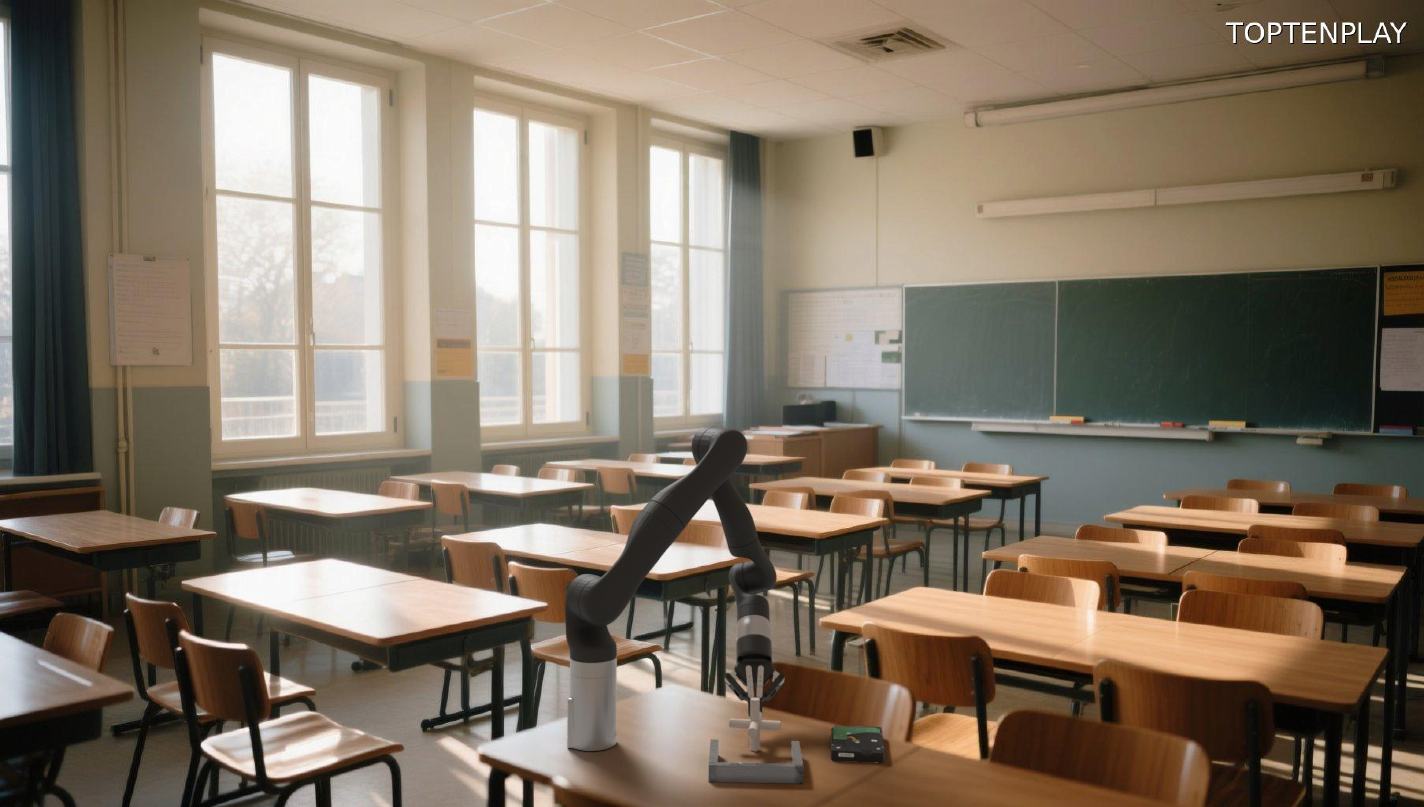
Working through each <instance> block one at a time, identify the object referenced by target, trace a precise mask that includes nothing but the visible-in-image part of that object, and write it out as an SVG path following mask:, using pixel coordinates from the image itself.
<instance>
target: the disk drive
mask: <svg viewBox="0 0 1424 807" xmlns="http://www.w3.org/2000/svg"><path fill="white" fill-rule="evenodd" d="M830 731H831V732H830V734H831V735H830V739H831V740H830V761H831V760H832V761H831V762H843V761H857V762H856V763H862V762H878V763H877V764H881V763H886V749H885V744H884V736H883V729H882V727H880V726H862V725H855V726H849V725H847V726H846V725H845V726H844V725H837V724H834V725H833V726H831V729H830Z"/></svg>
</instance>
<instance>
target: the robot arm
mask: <svg viewBox="0 0 1424 807" xmlns="http://www.w3.org/2000/svg"><path fill="white" fill-rule="evenodd" d="M690 449H691V453H692V454H691V455H692V457H693V459H694V462H695V464H696V466H695V467H693V469H692V470H691V471H690V472H688V473H687V474H685V475H683V476H682V477H681V478H679V479H677V480H675V481H674V482H673V483H671V484H669V485H667V486H666V487H664V488H662V489H661V490H660V491H659V492H657V493H656V494H655V495H654V496H652V498H651V499H650V500H649V501H648V502H647V503H646V504H645V506H644V507H643V508H642V510H640V512H639V513H638V514H637V515H636V517H635V519H634V520H633V522H632V525H631V527H630V529H629V533H628V536H627V539H626V543H625V546H624V549H623V550H622V553H621V554H620V556H619V557H618V559H617V560H616V561H615V562H614V564H613V565H612V566H611V567H610V568H609V569H608V570H607V571H606V572H605V573H604V574H603V575H602V576H599V575H595V574H590V573H584V574H580V575H578V576H577V577H575V578H574V579H573V580H572V581H571V582H570V584H569V585H568V587H567V590H566V594H565V600H564V602H565V603H564V613H565V614H564V617H565V621H564V622H565V637H566V643H567V646H568V649H569V697H568V699H567V710H566V711H567V714H566V715H567V721H566V722H567V723H566V724H567V726H566V728H567V729H566V730H567V731H566V734H567V735H566V736H567V738H566V740H567V741H566V745H567V748H568V749H575V750H577V751H584V752H595V751H602V750H603V751H604V750H608V749H610V748H613V747H614V746H616V744H617V692H618V690H617V681H618V679H617V678H618V677H617V675H618V674H617V672H618V670H617V668H618V667H617V666H618V665H617V664H618V659H617V658H618V655H617V654H618V653H617V652H618V648H617V647H618V646H617V643H616V641H615V639H614V638H613V637H612V635H611V634H610V631H609V628H608V625H610V624H612V623H614V622H615V621H616V620H617V619H618V618H619V617H620V616H621V614H622V613H623V612H624V610H625V609H626V608H627V606H628V605H629V604H630V601H631V600H632V598H633V596H634V595H635V594H636V592H637V590H638V589H639V588H640V586H641V584H642V583H643V582H644V580H645V578H646V577H647V576H648V575H649V573H650V572H651V571H652V570H653V569H654V568H655V566H656V565H657V563H658V562H659V561H660V560H661V558H662V557H663V555H665V553H666V552H667V550H668V549H669V548H670V547H671V546H672V545H673V544H674V542H675V541H676V540H677V539H678V537H679V536H680V535H681V533H682V532H684V530H685V528H687V526H688V524H689V523H690V522H691V520H692V519H693V518H694V517H695V515H696V514H697V513H698V512H699V511H700V510H701V509H702V507H703V506H704V505H705V504H706V502H707V501H708V500H710V497H711V499H712V501H713V504H714V506H715V510H716V511H717V514H718V517H719V521H720V523H721V526H722V530H723V534H724V537H725V541H726V544H727V548H728V551H729V553H730V555H731V556H732V557H735V558H739V559H747V560H750V561H744V562H738V563H734V565H732V566H731V568H730V569H729V571H728V580H729V584H730V587H731V589H732V592H733V595H734V599H735V603H736V620H737V621H736V632H735V643H736V644H735V645H736V646H735V648H736V650H735V651H736V655H735V656H736V659H735V660H736V662H735V665H734V668H733V671H731V672H726V673H725V674H724V682H725V684H726V685H727V687H728V688H729V689H730V690H731V691H732V692H733V693H734V695H735V696H736V697H737V698H738V699H739V700H740V701H742V702H743V701H745V702H746V703H747V711H748V712H747V715H748V718H750V699H751V698H759V699H760V712H761V713H762V714H763V702H764V701H765V702H769V701H770V700H772V698H773V697H774V696H775V694H776V693H777V692H778V691H779V689H781V687H782V686H783V685H784V683H785V679H786V678H785V674H784V673H783V672H782V673H779V672H778V671H777V670H776V666H774V664H773V650H772V648H773V646H772V645H773V644H772V642H773V640H772V628H771V622H770V620H771V618H770V604H769V601H768V599H767V598H765V597H764V596H763V595H760V594H756V593H761V592H767V591H771V590H773V588H774V587H775V586H776V585H777V584H776V583H777V571H776V569H775V567H774V564H773V562H772V561H771V560H770V558H769V556H768V554H767V553H766V552H765V550H764V548H763V546H762V544H761V542H760V539H759V536H758V531H757V529H756V524H755V521H754V518H753V515H752V513H751V511H750V509H749V507H748V506H747V504H746V502H745V501H744V499H743V498H742V496H741V495H740V494H739V492H738V490H737V489H736V487H735V485H734V484H733V481H732V479H731V476H732V475H733V473H735V472H736V470H738V469H739V467H740V466H741V465H742V463H744V461H745V458H746V455H747V451H748V442H747V438H746V436H745V435H744V434H743V432H741V431H739V430H737V429H734V428H730V427H722V426H715V425H714V426H711V425H708V426H703V427H701V428H699V429H698V430H697V431H696V432H695V433H694V435H693V437H692V440H691V448H690ZM754 593H755V594H754ZM771 679H772V683H770V685H769V686H768V688H766V690H765V691H763V690H764V687H765V686H767V684H768V683H769V681H770V680H771ZM738 680H739V681H740V682H741V684H742V685H744V686H745V687H746V690H745V689H744V688H743V687H742V686H741V685H740V684H739V682H738ZM754 688H756V696H755V692H754Z"/></svg>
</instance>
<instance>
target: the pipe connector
mask: <svg viewBox="0 0 1424 807" xmlns="http://www.w3.org/2000/svg"><path fill="white" fill-rule="evenodd" d="M728 728H729V729H741V730H742V729H745V730H747V736H749V738H750V739H749V740H750V741H749V744H750V746H749V747H750V751H751V750H753V751H752V752H757V751H756V750H759V751H760V746H761V744H760V743H761V742H760V739H761V737H760V735H761V733H760V731H762V730H764V731H778V732H779V731H781V729H782V720H768V719H763V712H762V713H761V712H760V699H759V698H756V697H754V698H751V699H750V717H749V719H747V718H733V717H731V718H729V723H728Z"/></svg>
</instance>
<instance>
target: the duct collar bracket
mask: <svg viewBox="0 0 1424 807" xmlns="http://www.w3.org/2000/svg"><path fill="white" fill-rule="evenodd" d="M709 742H710V744H709V758H708V781H707V782H708V783H747V784H748V783H752V784H753V783H757V784H758V783H759V784H761V783H762V784H763V783H764V784H800V783H802V784H804V779H805V778H804V774H805V772H804V770H805V768H804V762H803V755H802V750H801V745H800V741H799V740H791V742H790V746H791V749H790V759H791V758H792V759H791V763H786V762H784V763H781V762H779V763H778V762H775V763H773V762H733V761H732V762H725V761H723V762H722V761H721V762H719V739H710V741H709Z"/></svg>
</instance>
